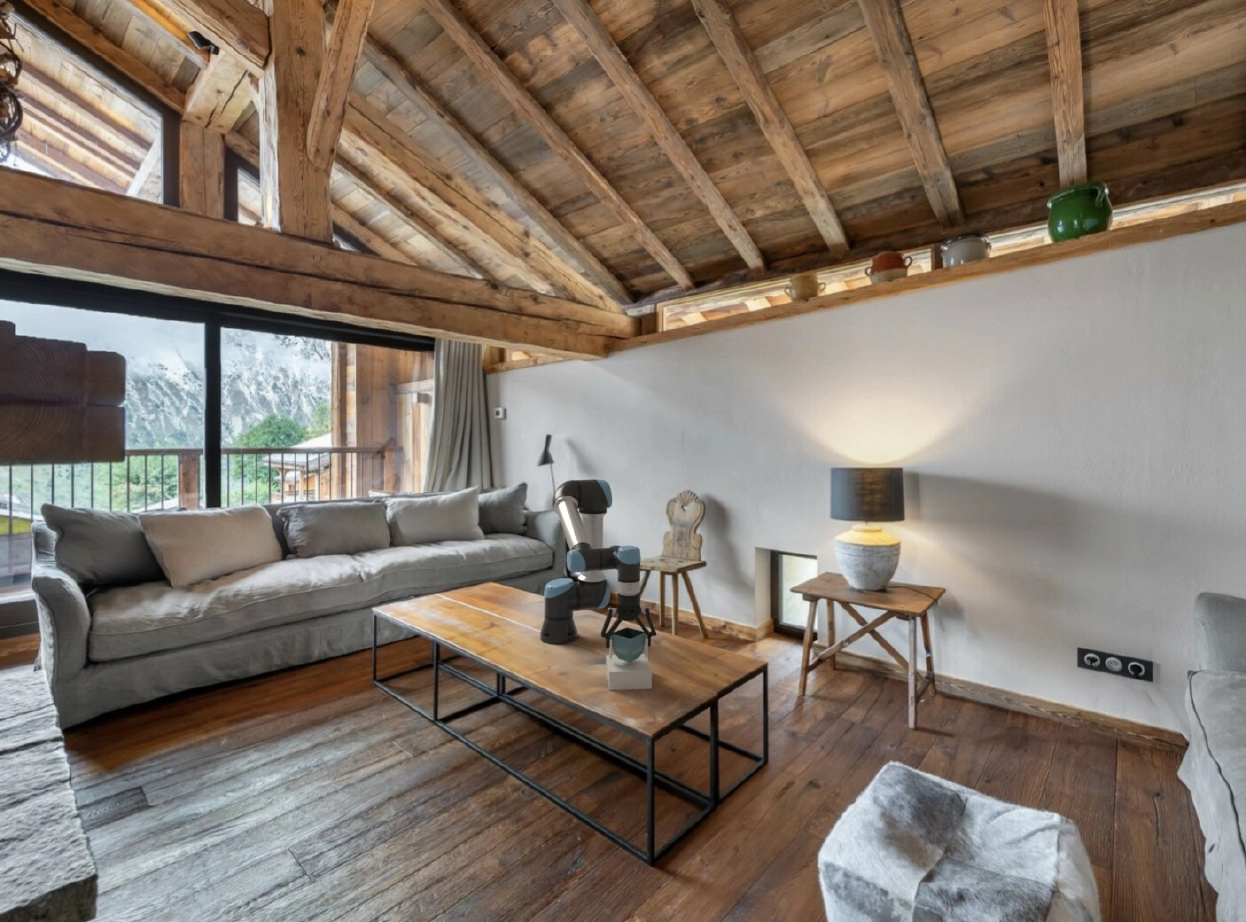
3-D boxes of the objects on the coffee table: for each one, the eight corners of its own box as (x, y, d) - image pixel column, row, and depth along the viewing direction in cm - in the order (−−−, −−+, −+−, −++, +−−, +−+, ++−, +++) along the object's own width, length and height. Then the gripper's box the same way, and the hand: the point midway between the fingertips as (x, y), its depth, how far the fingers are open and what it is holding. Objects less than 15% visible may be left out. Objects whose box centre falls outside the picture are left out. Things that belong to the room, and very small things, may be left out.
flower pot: (626, 651, 194) (626, 626, 193) (646, 658, 188) (647, 632, 188) (610, 659, 187) (610, 633, 186) (630, 666, 181) (630, 639, 181)
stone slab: (606, 672, 194) (606, 655, 194) (645, 670, 195) (645, 653, 195) (609, 690, 180) (609, 672, 180) (651, 688, 181) (651, 670, 181)
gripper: (594, 596, 182) (593, 662, 183) (665, 595, 184) (664, 659, 185) (592, 590, 189) (592, 653, 190) (661, 588, 191) (661, 651, 192)
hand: (628, 656), depth 187 cm, fingers closed on flower pot, 11 cm apart
